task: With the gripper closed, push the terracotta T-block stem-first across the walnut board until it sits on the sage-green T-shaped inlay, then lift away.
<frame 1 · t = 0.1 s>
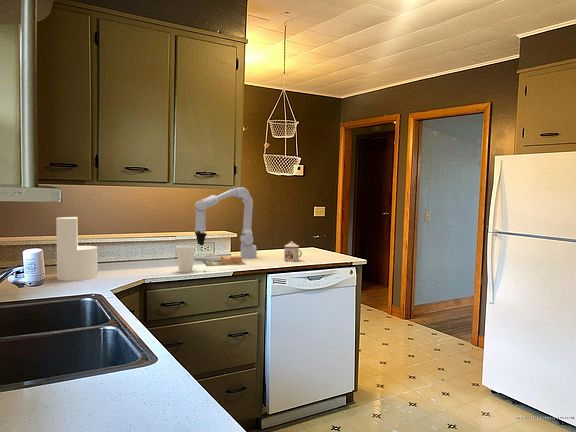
hand: (200, 244, 261), 10 cm above the worktop, fingers open, 7 cm apart
t block: (228, 262, 252), point 1 cm above the worktop, touching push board
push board: (223, 264, 251), on the worktop
teacup with lid: (293, 261, 268), on the worktop
foam cup: (185, 272, 228), on the worktop
cream l-shaped block: (77, 277, 210), on the worktop
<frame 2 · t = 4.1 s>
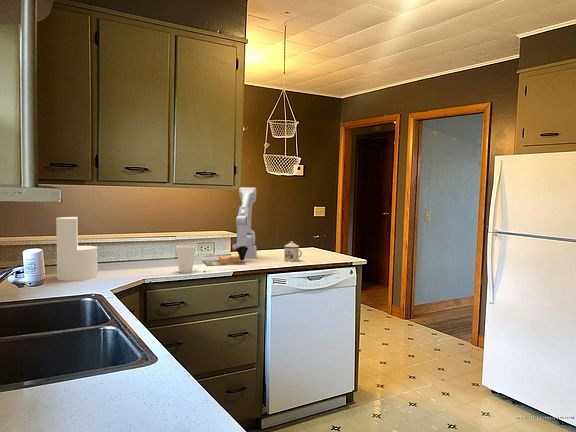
hand: (241, 260, 255), 2 cm above the worktop, fingers closed
t block: (226, 262, 252), point 1 cm above the worktop, touching gripper, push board
everything else where it was.
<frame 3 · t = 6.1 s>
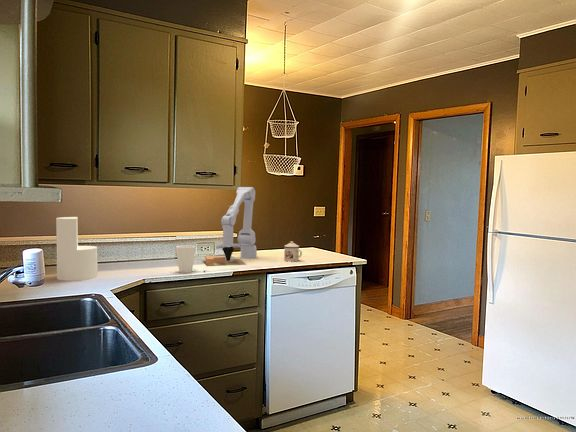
hand: (228, 260, 252), 2 cm above the worktop, fingers closed
t block: (212, 262, 250), point 1 cm above the worktop, touching gripper, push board
everything else where it was.
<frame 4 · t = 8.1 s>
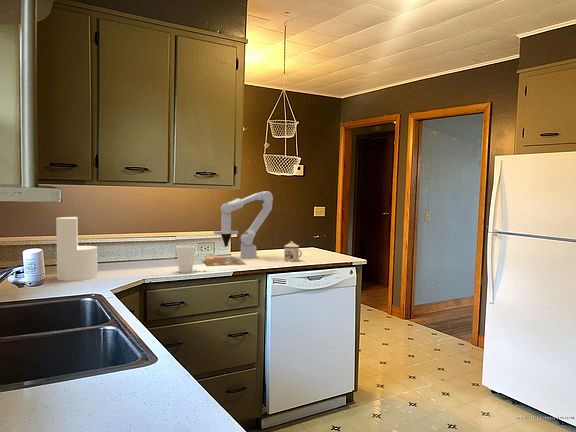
hand: (226, 246, 267), 8 cm above the worktop, fingers closed
t block: (212, 262, 250), point 1 cm above the worktop, touching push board
everything else where it was.
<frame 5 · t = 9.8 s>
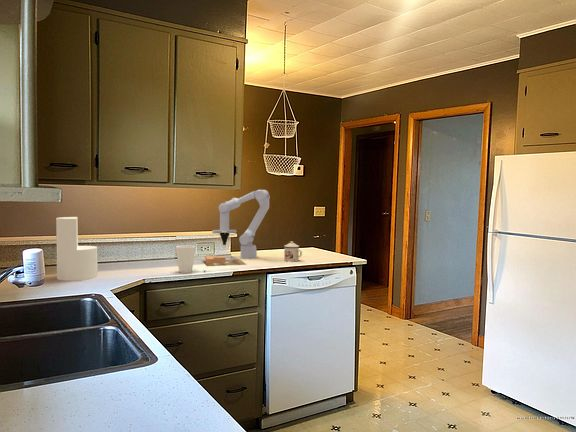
hand: (224, 244, 274), 8 cm above the worktop, fingers closed
nothing on the worktop moved.
at the end: t block 1.5 cm from the target spot on the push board, point 1.2 cm above the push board's base; t block tilted 0° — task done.
